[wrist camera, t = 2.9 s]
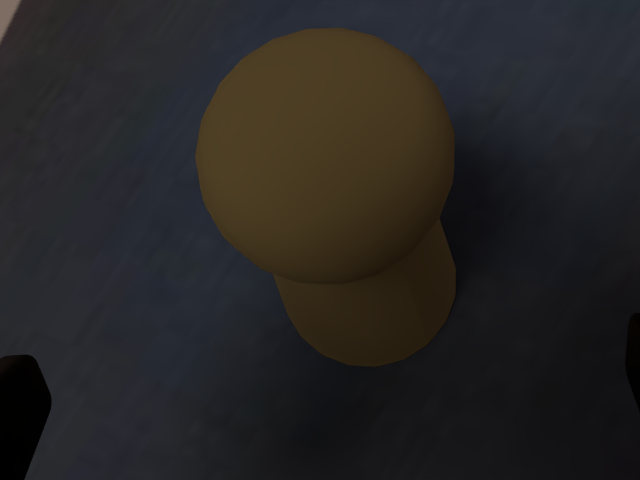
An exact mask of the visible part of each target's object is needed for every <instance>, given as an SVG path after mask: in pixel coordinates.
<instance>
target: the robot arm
mask: <svg viewBox="0 0 640 480" xmlns="http://www.w3.org/2000/svg"><path fill="white" fill-rule="evenodd" d="M625 366H626V374H627V378H628V381H629V384H630V386H631V389H632V392H633V395H634V397H635V400H636V403H637V406H638V409H639V411H640V313H634V314H633V315H632V316H631V318H630V320H629V325H628V336H627V348H626V359H625ZM50 410H51V394H50V391H49V389H48V387H47V384H46V382H45V380H44V377H43V375H42V372H41V370H40V368H39V365H38V363H37V361H36V359H35V358H34V357H32V356H30V355H11V356H5V357H2V358H0V480H24V479H25V476H26V474H27V471H28V469H29V466H30V463H31V461H32V458H33V455H34V453H35V450H36V447H37V445H38V442H39V439H40V437H41V434H42V431H43V429H44V426H45V424H46V421H47V418H48V416H49V413H50Z"/></svg>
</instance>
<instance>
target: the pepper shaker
mask: <svg viewBox="0 0 640 480" xmlns="http://www.w3.org/2000/svg"><path fill="white" fill-rule="evenodd" d="M454 141H455V132H454V129H453V127H452V124H451V121H450V118H449V116H448V113H447V110H446V107H445V105H444V102H443V99H442V97H441V94H440V92H439V90H438V88H437V86H436V84H435V83H434V82H433V81H432V80H431V78H430V77H429V76H428V75H427V74H426V73H425V71H424V70H423V69H422V68H421V67H420V65H419V64H418V63H417V62H416V61H415V60H414V58H412V57H410V56H409V55H407V54H405V53H404V52H402V51H400V50H399V49H397V48H395V47H394V46H392V45H390V44H389V43H387V42H385V41H383V40H382V39H380V38H378V37H375V36H373V35H369V34H365V33H361V32H357V31H352V30H348V29H344V28H321V29H305V30H302V31H299V32H295V33H292V34H289V35H286V36H282V37H279V38H276V39H273V40H271V41H270V42H268V43H266V44H265V45H263V46H262V47H260V48H258V49H257V50H255V51H253V52H252V53H250V54H249V55H247V56H245V57H244V58H243V59H242V60H241V61H240V62H239V63H238V64H237V65H236V66H235V67H234V68H233V69H232V71H231V72H230V73H229V74H228V75H227V76H226V77H225V78H224V79H223V80H222V81H221V82H220V84H219V86H218V88H217V90H216V92H215V94H214V96H213V98H212V100H211V102H210V104H209V106H208V108H207V110H206V112H205V114H204V116H203V118H202V121H201V124H200V130H199V136H198V142H197V148H196V154H195V159H196V165H197V171H198V176H199V182H200V187H201V192H202V196H203V200H204V204H205V206H206V208H207V210H208V212H209V213H210V215H211V217H212V218H213V220H214V222H215V223H216V225H217V227H218V229H219V230H220V232H221V234H222V235H223V237H224V238H225V239H226V240H227V241H228V242H229V243H230V244H231V245H232V246H233V247H235V248H236V249H237V250H238V251H239V252H241V253H242V254H243V255H244V256H246V257H247V258H248V259H249V260H250V261H252V262H253V263H254V264H255V265H256V266H258V267H259V268H260V269H262V270H265V271H267V272H270V273H272V274H273V276H274V279H275V282H276V284H277V287H278V290H279V293H280V295H281V298H282V301H283V304H284V306H285V309H286V312H287V314H288V316H289V318H290V319H291V321H292V323H293V324H294V326H295V328H296V329H297V331H298V333H299V334H300V336H301V337H302V338H303V339H304V340H305V341H306V342H307V343H309V344H310V345H311V346H312V347H313V348H315V349H316V350H317V351H318V352H319V353H320V354H322V355H324V356H326V357H329V358H331V359H334V360H336V361H339V362H341V363H344V364H346V365H353V366H369V367H378V366H382V365H386V364H390V363H393V362H397V361H401V360H405V359H406V358H408V357H409V356H411V355H412V354H414V353H415V352H417V351H418V350H420V349H421V348H423V347H425V346H426V345H428V344H429V343H430V341H431V340H432V339H433V338H434V336H435V335H436V334H437V333H438V331H439V330H440V329H441V328H442V326H443V325H444V324H445V323H446V321H447V318H448V315H449V312H450V310H451V307H452V304H453V301H454V298H455V296H456V267H455V264H454V261H453V258H452V255H451V252H450V249H449V246H448V243H447V240H446V237H445V234H444V231H443V228H442V225H441V222H440V219H439V218H440V215H441V212H442V210H443V207H444V204H445V202H446V199H447V196H448V194H449V191H450V189H451V186H452V183H453V175H454Z"/></svg>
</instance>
